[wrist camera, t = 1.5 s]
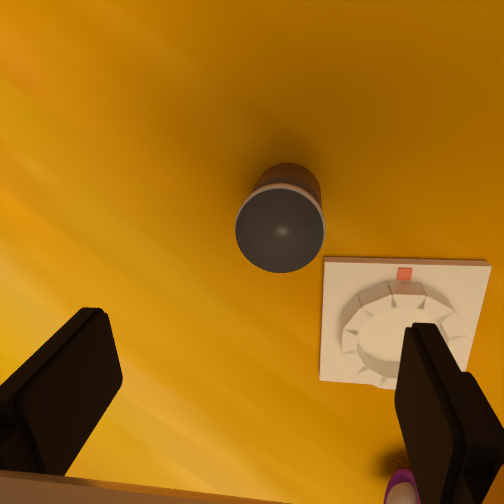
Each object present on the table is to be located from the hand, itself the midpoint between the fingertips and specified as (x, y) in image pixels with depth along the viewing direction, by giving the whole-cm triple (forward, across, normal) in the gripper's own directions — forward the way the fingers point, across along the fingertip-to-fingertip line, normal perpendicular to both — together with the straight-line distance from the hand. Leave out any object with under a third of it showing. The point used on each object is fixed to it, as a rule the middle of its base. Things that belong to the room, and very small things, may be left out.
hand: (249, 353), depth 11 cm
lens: (+18, 0, 0) cm, 18 cm away
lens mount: (+18, -9, +11) cm, 23 cm away
